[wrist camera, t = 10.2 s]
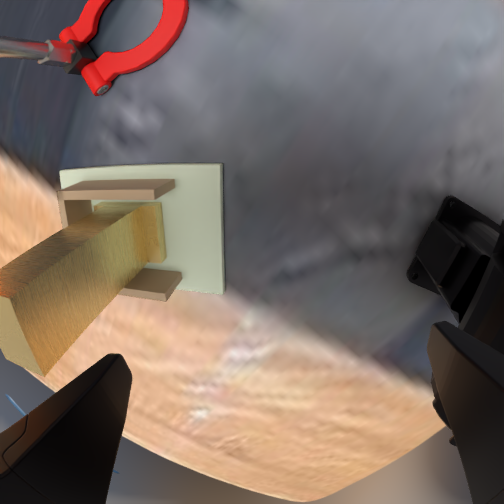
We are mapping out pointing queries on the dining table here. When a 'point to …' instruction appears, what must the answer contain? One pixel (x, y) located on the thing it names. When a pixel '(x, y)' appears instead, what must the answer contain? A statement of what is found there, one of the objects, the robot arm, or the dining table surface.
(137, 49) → the tow hook
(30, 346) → the gold square pillar
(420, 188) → the dining table surface
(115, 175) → the pale green slotted base
